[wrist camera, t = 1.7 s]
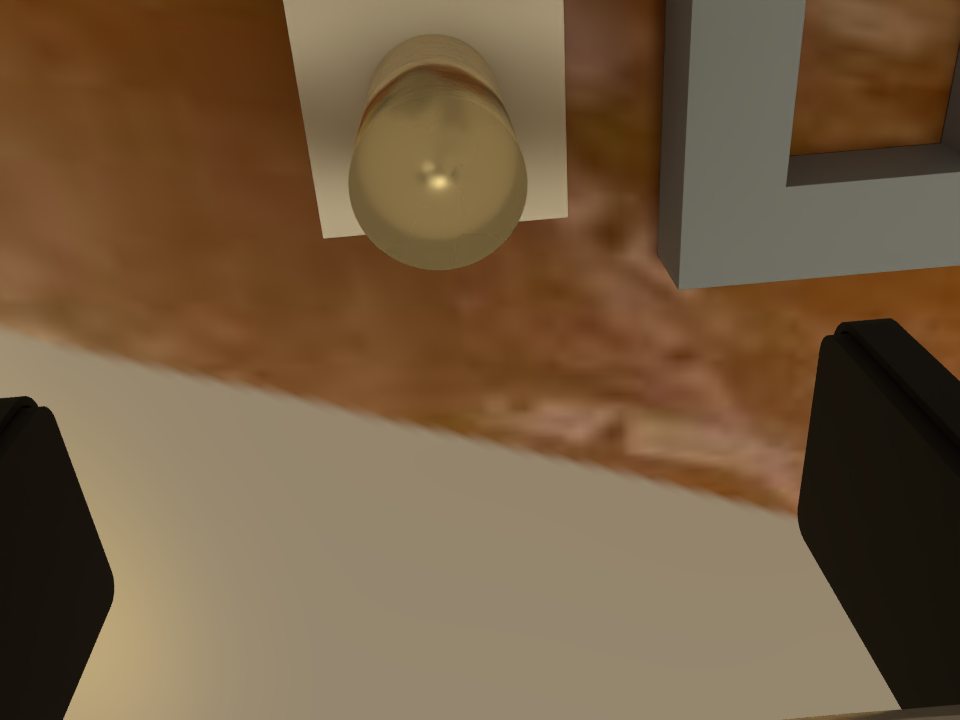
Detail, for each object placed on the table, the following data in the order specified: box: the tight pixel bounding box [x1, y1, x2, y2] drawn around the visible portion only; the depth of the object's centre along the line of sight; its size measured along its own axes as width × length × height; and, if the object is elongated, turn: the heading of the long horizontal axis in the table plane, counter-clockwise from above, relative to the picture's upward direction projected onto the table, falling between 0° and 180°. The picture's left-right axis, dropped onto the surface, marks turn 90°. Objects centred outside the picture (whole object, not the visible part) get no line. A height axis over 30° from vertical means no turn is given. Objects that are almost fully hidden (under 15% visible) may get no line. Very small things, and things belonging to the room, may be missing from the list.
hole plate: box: [657, 0, 960, 290], centre depth 27 cm, size 13×13×3 cm
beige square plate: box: [283, 0, 568, 238], centre depth 27 cm, size 8×8×2 cm
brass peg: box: [348, 34, 528, 270], centre depth 23 cm, size 4×4×8 cm
